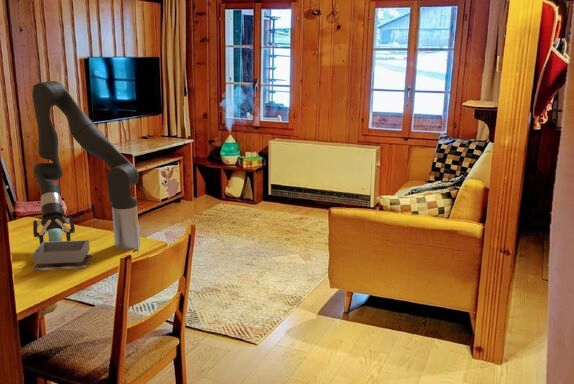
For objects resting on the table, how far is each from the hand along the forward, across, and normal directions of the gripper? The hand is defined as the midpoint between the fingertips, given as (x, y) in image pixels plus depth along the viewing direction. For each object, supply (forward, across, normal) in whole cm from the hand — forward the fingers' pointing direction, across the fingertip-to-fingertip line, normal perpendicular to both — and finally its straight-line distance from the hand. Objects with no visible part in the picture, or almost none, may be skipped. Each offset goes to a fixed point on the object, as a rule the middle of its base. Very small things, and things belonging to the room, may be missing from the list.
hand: (55, 244), depth 195 cm
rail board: (+11, +2, -4) cm, 12 cm away
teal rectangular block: (+3, 0, +4) cm, 5 cm away
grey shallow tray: (+10, +2, -5) cm, 12 cm away
